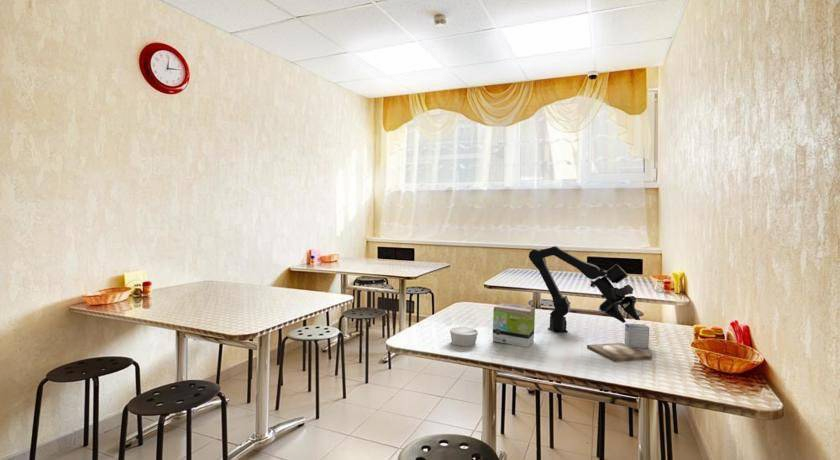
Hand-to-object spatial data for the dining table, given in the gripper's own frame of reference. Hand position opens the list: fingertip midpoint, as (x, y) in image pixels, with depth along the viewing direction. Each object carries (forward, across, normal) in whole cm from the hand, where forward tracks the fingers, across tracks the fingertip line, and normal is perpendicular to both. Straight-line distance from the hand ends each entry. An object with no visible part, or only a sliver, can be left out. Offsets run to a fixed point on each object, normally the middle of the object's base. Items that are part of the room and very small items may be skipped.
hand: (631, 320), depth 174 cm
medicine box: (+9, 0, +5) cm, 10 cm away
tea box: (-12, -40, +26) cm, 49 cm away
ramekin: (-18, -59, +32) cm, 70 cm away
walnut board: (+10, -15, +4) cm, 18 cm away
